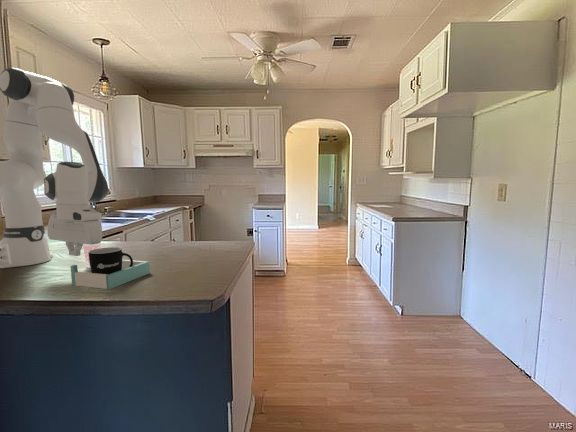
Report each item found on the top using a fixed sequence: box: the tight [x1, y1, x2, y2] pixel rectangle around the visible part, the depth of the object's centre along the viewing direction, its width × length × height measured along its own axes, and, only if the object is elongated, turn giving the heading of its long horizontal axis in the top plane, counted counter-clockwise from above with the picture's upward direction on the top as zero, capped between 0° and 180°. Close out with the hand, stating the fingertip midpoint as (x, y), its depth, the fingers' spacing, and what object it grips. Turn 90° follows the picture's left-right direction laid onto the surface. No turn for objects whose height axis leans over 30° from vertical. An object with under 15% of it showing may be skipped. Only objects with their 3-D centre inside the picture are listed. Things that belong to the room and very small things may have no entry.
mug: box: [89, 246, 134, 275], centre depth 102 cm, size 12×9×10 cm
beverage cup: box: [82, 241, 102, 269], centre depth 120 cm, size 6×6×14 cm
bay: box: [70, 259, 151, 290], centre depth 104 cm, size 14×17×6 cm
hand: (74, 255), depth 106 cm, fingers closed
